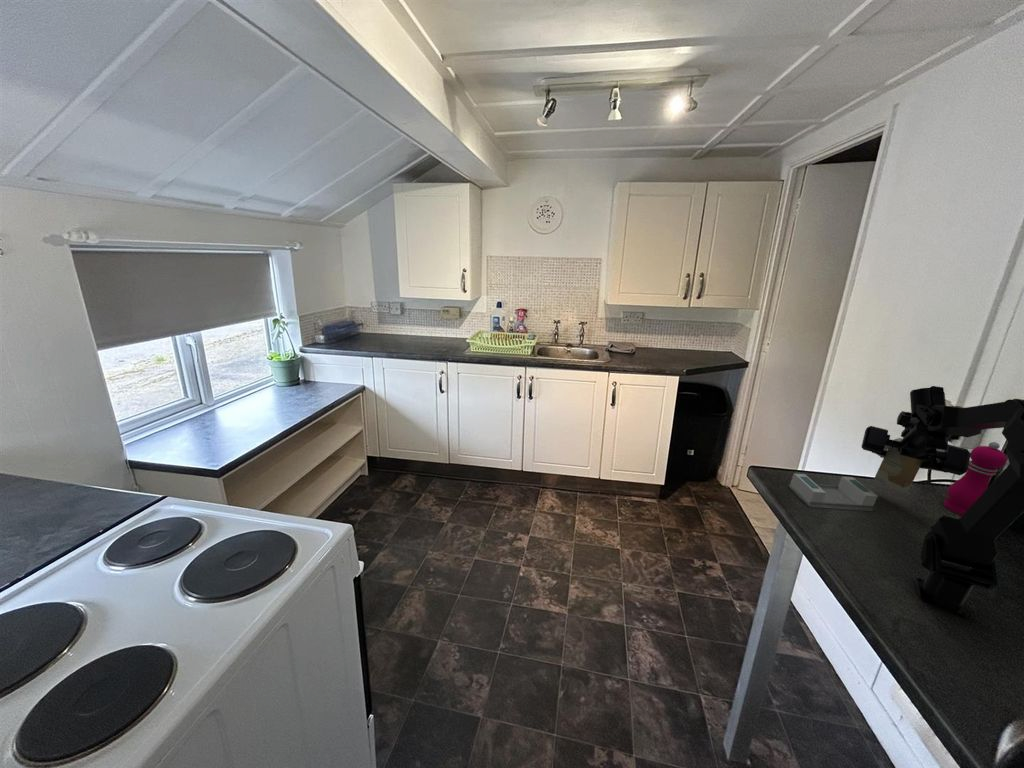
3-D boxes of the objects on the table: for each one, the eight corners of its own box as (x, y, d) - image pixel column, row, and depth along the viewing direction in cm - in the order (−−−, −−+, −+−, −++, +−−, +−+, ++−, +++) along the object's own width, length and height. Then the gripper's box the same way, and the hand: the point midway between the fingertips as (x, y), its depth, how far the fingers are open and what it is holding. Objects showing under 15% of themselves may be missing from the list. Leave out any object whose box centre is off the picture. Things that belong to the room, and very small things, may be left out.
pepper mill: (962, 502, 111) (997, 437, 104) (988, 520, 104) (1027, 451, 97) (933, 499, 111) (966, 434, 104) (957, 517, 105) (994, 448, 98)
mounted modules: (848, 488, 113) (853, 476, 112) (872, 507, 105) (878, 495, 104) (789, 484, 113) (794, 472, 112) (809, 503, 105) (814, 491, 104)
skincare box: (872, 480, 110) (889, 439, 105) (881, 477, 111) (898, 436, 107) (902, 493, 104) (921, 451, 100) (910, 490, 106) (930, 448, 102)
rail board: (846, 490, 114) (848, 485, 113) (872, 511, 105) (874, 506, 105) (788, 486, 114) (789, 482, 113) (809, 507, 105) (811, 502, 105)
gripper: (987, 419, 92) (955, 445, 104) (879, 397, 102) (861, 423, 114) (981, 464, 88) (948, 485, 101) (870, 436, 98) (853, 458, 111)
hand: (900, 461), depth 107 cm, fingers closed on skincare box, 7 cm apart
